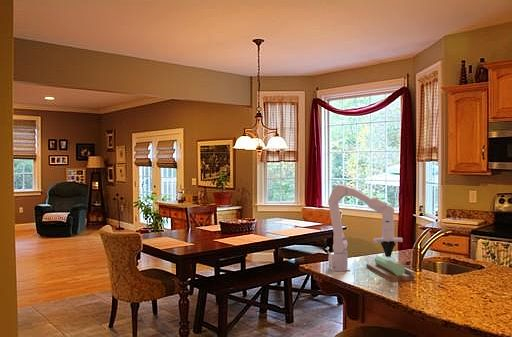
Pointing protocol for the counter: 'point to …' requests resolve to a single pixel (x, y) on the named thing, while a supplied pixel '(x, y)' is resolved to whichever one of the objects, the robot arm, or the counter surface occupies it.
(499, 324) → the counter surface
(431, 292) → the counter surface
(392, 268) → the container
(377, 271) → the shelf
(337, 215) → the robot arm
